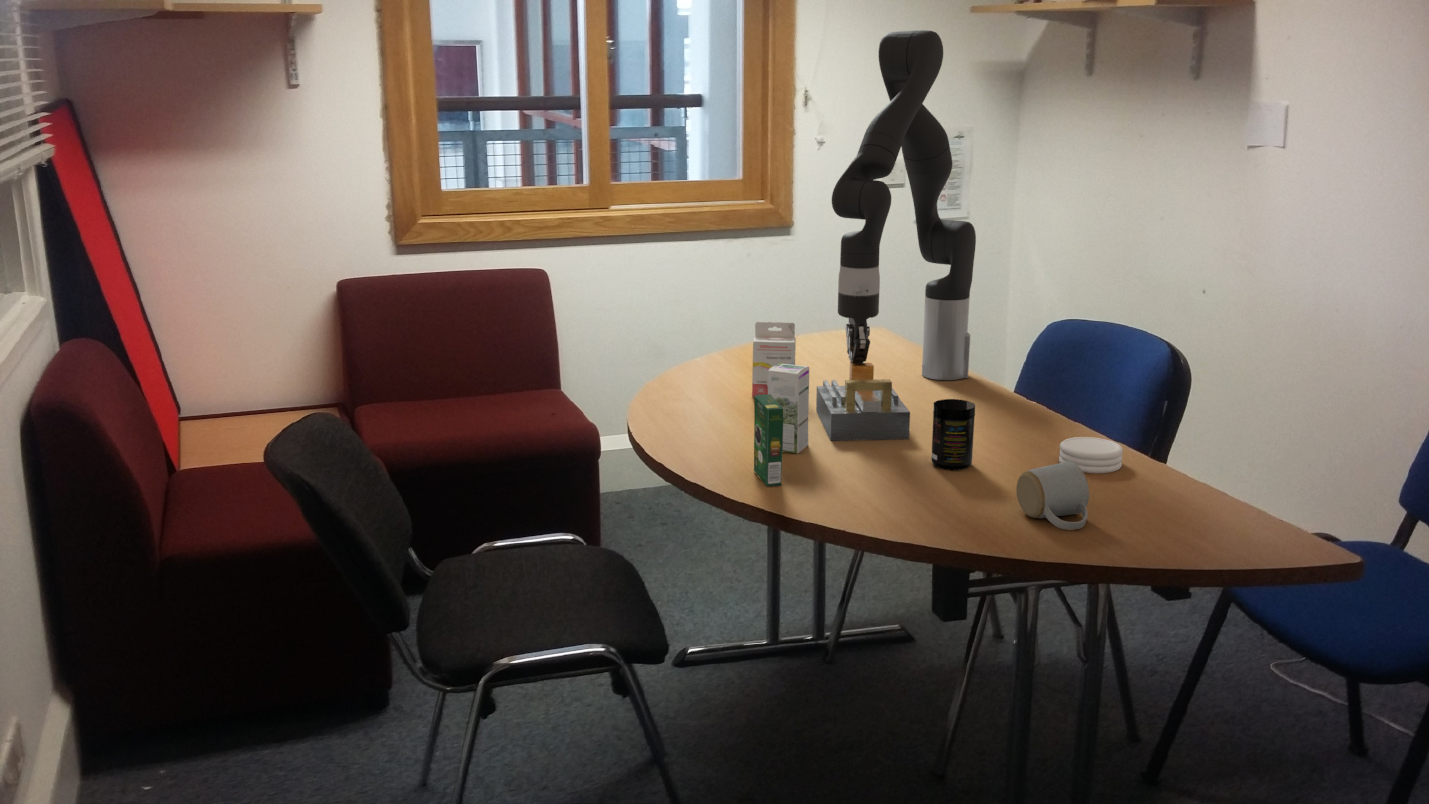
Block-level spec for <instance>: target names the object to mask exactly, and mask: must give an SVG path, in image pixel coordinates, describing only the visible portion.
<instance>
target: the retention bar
mask: <svg viewBox="0 0 1429 804" xmlns="http://www.w3.org/2000/svg"><path fill="white" fill-rule="evenodd" d="M874 368H875V366H874V364H873V363H872V362H863V363H850V362H849V379H848V380H874V375H875V374H874V372H875V371H874V370H875V369H874ZM855 400H856V402H857V404H858V405H859V407H860V408H861V410H862V412H880V400H879V399H878V397H877V396H876V394H875V393H874V391H855Z"/></svg>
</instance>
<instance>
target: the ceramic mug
mask: <svg viewBox="0 0 1429 804" xmlns="http://www.w3.org/2000/svg"><path fill="white" fill-rule="evenodd" d="M1015 487H1016V490H1015V491H1016V498H1017V501H1018V505H1019V506H1020V508H1021V510H1022V512H1024V514H1026V515H1027V516H1028V517H1030V518H1033V519H1047V520H1048V521H1049V523H1051V524H1052V525H1053V526H1055V527H1057V528H1059V529H1061V530H1065V529H1069V530H1068V531H1073V530H1072V529H1078V530H1080V529H1082V528H1083V527H1084V526H1085V524H1086V522H1087V520H1088V514H1089V513H1088V509H1087V507H1088V503H1089V500H1090V489H1089V487H1090V486H1089V483H1088V481H1087V477H1086V475H1085V472H1083V471H1082V470H1081V468H1080V467H1079V466H1078V465H1077V464H1075V463H1074V462H1070V461H1067V462H1062V463H1060V462H1059V463H1053V464H1050V465H1046V466H1041V467H1036V468H1035V467H1034V468H1032V469H1029V470H1025V471H1024V472H1023V473H1022V474H1020V475H1019V477H1018V479H1017V482H1016V486H1015ZM1078 514H1081V516H1082V519H1081V520H1079V521H1066V520H1063V519H1060V517H1063V516H1069V515H1070V516H1072V515H1078ZM1079 528H1080V529H1079ZM1070 529H1071V530H1070Z"/></svg>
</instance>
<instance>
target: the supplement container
mask: <svg viewBox="0 0 1429 804" xmlns="http://www.w3.org/2000/svg"><path fill="white" fill-rule="evenodd" d="M932 409H933V411H932V414H933V415H932V416H933V417H932V418H933V419H932V435H931V437H932V438H931V439H932V440H931V457H930V458H931V459H930V461H931V463H932V465H933V466H935V468H938V469H940V470H946V471H963V470H966V469H969V468H970V467H971V466H972V463H973V454H974V453H973V451H974V450H973V448H974V431H975V416H976V404H975V403H974V402H973V401H968V400H965V399H956V398H946V399H939V400H936V401H934V402H933V408H932Z"/></svg>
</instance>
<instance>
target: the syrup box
mask: <svg viewBox="0 0 1429 804" xmlns="http://www.w3.org/2000/svg"><path fill="white" fill-rule="evenodd" d="M768 395H771V396H772V397H773V398H774V399H775V400H776V401H777V402H778V403H779V404H780V405H781V406H782V407H783V408H784V416H783V453H789V454H790V453H791V454H799V453H800V452H802V451H803V450H804V449H806V447H808V446H809V411H810V410H809V406H810V405H809V403H810V401H809V400H810V399H809V398H810V366H808V365H802V364H801V365H800V364H799V365H796V364H795V365H791V364H781V363H779V364H776V365H774V366H773V367H772V368H770V369H769V370H768Z"/></svg>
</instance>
